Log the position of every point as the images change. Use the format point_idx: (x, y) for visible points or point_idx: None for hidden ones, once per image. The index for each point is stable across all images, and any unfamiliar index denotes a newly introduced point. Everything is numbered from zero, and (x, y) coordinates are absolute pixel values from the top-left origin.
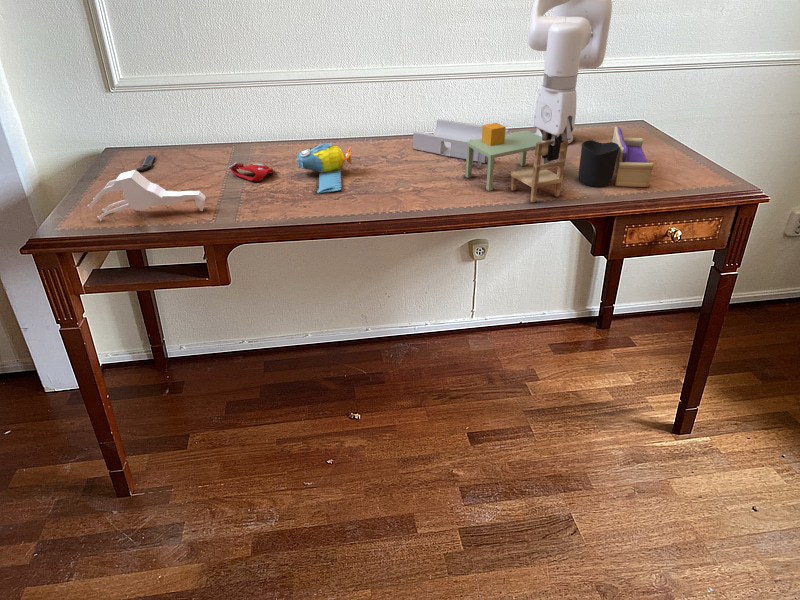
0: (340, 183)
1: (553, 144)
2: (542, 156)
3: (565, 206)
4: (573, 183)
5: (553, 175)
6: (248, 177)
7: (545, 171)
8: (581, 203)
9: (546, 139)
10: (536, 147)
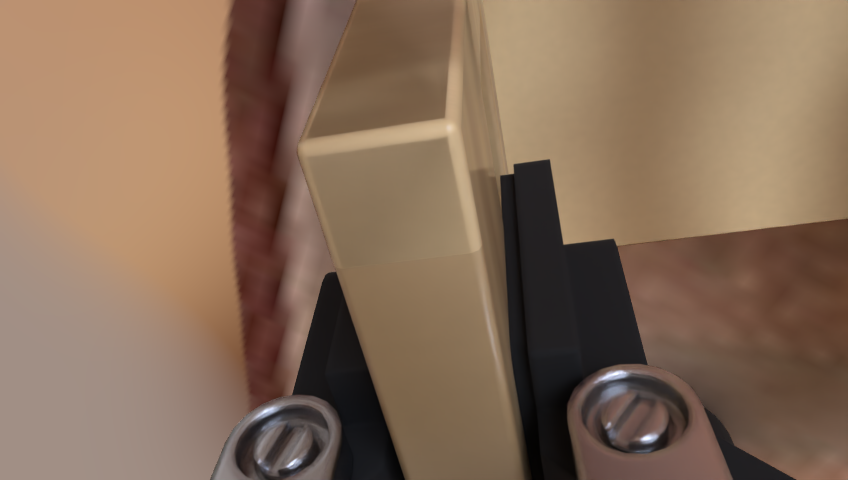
0: None
1: (243, 432)
2: (536, 169)
3: (287, 104)
4: (658, 346)
5: (567, 210)
6: None
7: (705, 189)
8: (314, 233)
9: (569, 450)
10: (413, 67)
